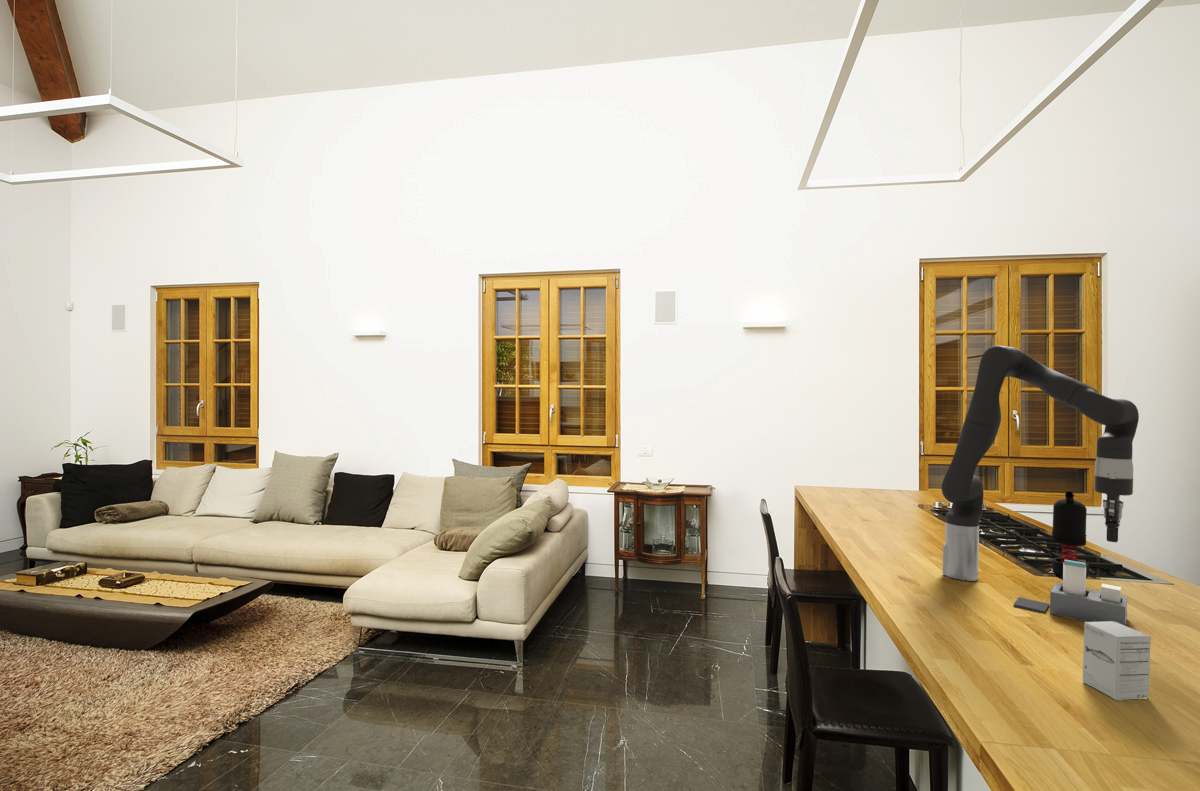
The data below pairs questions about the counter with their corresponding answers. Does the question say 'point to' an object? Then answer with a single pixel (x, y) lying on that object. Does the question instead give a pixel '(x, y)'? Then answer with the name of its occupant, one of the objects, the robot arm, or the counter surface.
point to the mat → (1031, 605)
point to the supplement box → (1116, 660)
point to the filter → (1068, 529)
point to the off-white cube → (1111, 592)
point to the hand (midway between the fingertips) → (1112, 541)
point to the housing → (1087, 606)
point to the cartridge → (1074, 577)
